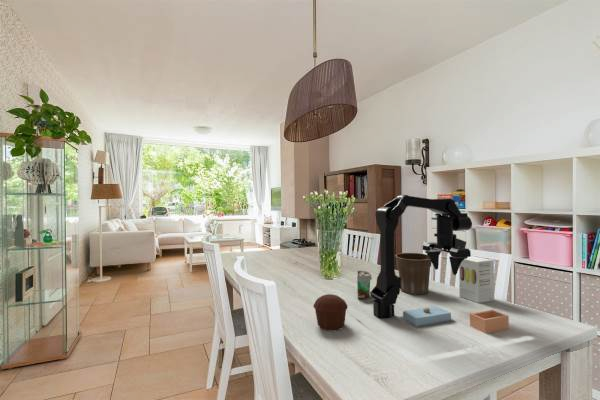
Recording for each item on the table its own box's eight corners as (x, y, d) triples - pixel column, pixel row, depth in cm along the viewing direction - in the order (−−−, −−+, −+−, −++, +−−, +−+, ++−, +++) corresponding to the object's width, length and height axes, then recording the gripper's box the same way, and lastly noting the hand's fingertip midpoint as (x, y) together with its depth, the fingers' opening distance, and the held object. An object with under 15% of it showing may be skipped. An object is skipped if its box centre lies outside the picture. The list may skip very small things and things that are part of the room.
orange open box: (485, 336, 92) (485, 320, 92) (470, 328, 98) (469, 313, 98) (508, 331, 95) (508, 315, 95) (492, 324, 101) (492, 309, 101)
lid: (416, 326, 98) (416, 315, 98) (403, 318, 105) (402, 308, 105) (451, 320, 103) (450, 309, 103) (436, 312, 109) (435, 303, 109)
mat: (416, 331, 97) (416, 328, 97) (398, 319, 106) (398, 316, 106) (456, 324, 101) (456, 321, 101) (435, 313, 111) (435, 311, 111)
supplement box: (458, 296, 130) (457, 257, 130) (474, 293, 133) (473, 255, 133) (478, 303, 121) (478, 261, 121) (495, 300, 124) (494, 259, 124)
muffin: (351, 321, 106) (350, 292, 106) (343, 334, 96) (343, 303, 96) (319, 316, 110) (318, 289, 110) (308, 329, 100) (308, 299, 100)
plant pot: (436, 297, 129) (435, 259, 129) (396, 295, 133) (396, 258, 133) (430, 286, 145) (429, 253, 145) (395, 284, 149) (394, 252, 149)
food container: (372, 301, 126) (372, 277, 126) (357, 300, 127) (357, 276, 127) (371, 292, 138) (371, 270, 138) (358, 291, 139) (357, 270, 139)
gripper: (482, 232, 109) (482, 275, 109) (443, 228, 127) (444, 265, 127) (457, 234, 106) (458, 278, 106) (421, 229, 124) (422, 267, 124)
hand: (445, 272), depth 116 cm, fingers open, 9 cm apart
